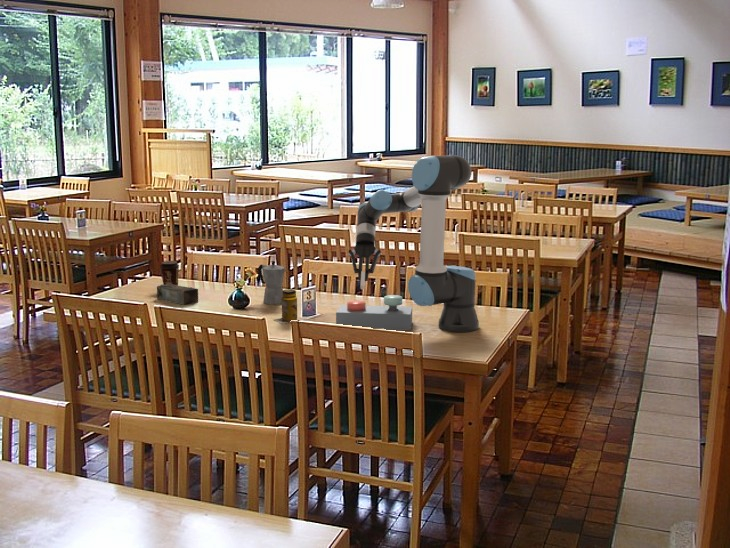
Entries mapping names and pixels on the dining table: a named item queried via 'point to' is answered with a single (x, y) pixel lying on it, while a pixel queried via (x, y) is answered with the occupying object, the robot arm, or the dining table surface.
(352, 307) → the red button
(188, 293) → the dark grey brick
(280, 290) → the coffeepot
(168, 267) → the coffee cup
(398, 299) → the teal button
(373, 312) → the control box
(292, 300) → the condiment
